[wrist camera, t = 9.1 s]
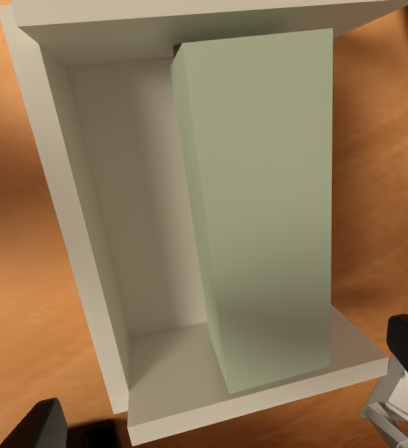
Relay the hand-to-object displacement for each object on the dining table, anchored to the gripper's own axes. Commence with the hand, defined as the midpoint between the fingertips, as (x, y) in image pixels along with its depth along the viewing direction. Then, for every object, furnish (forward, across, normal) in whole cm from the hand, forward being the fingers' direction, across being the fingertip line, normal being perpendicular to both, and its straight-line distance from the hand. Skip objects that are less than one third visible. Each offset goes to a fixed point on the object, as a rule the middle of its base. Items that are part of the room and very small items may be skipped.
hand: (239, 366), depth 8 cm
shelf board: (+8, -3, -2) cm, 9 cm away
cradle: (+12, -3, -2) cm, 12 cm away
